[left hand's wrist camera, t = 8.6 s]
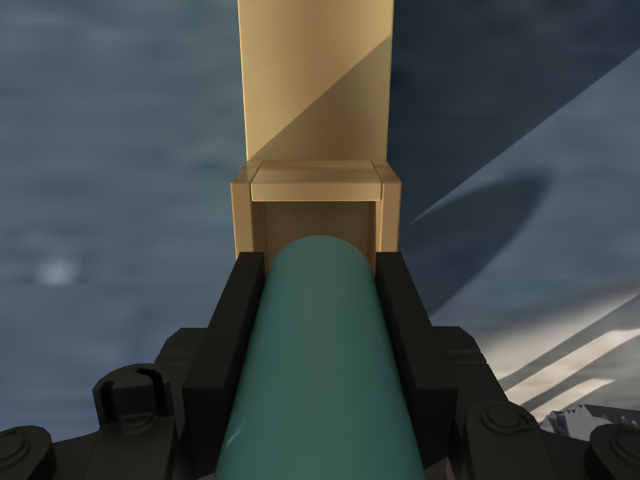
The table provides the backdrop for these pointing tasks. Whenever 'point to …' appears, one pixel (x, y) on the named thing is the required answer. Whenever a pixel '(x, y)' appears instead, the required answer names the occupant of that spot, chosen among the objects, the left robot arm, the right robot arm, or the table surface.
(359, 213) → the peg board
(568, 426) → the toy
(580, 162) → the table surface
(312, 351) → the peg
